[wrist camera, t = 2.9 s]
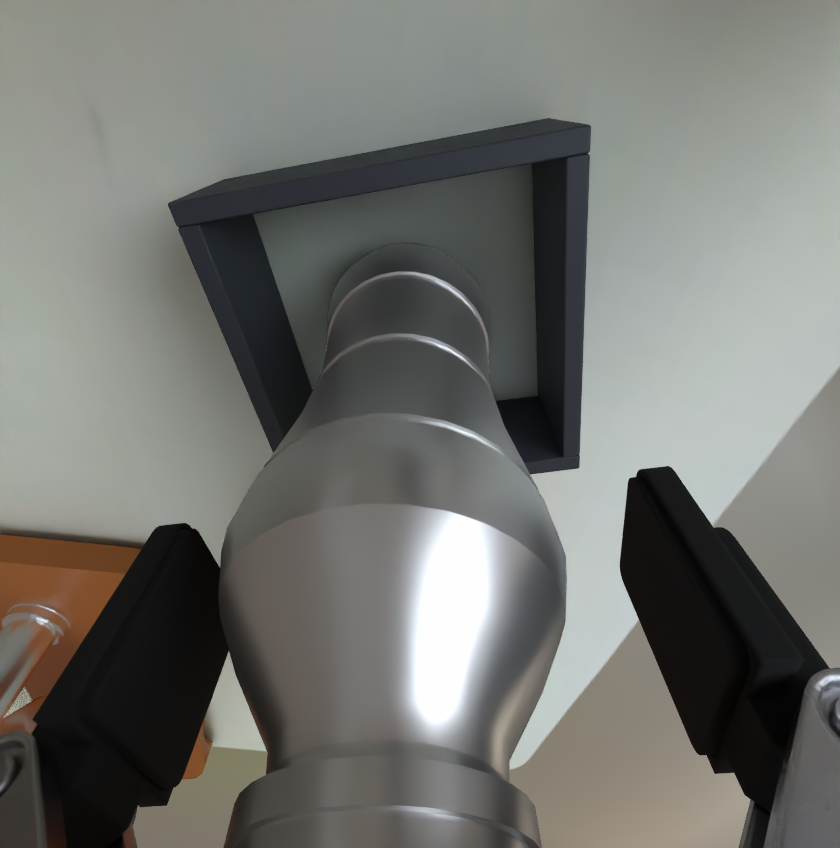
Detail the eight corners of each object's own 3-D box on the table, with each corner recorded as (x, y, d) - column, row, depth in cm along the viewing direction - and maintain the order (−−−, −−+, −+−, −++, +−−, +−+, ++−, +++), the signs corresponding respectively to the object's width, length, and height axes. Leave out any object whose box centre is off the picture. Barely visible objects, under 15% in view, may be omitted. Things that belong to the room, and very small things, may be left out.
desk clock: (85, 743, 45) (-106, 1115, 29) (-30, 524, 29) (-644, 1110, 12) (217, 751, 47) (107, 1113, 30) (180, 545, 30) (-116, 1106, 13)
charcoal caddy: (223, 179, 18) (166, 203, 14) (550, 117, 17) (591, 124, 13) (314, 437, 25) (294, 504, 21) (551, 405, 24) (579, 468, 20)
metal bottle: (385, 395, 24) (310, 1075, 7) (306, 274, 20) (-182, 1036, 4) (506, 339, 22) (769, 1060, 6) (441, 197, 19) (621, 964, 2)
